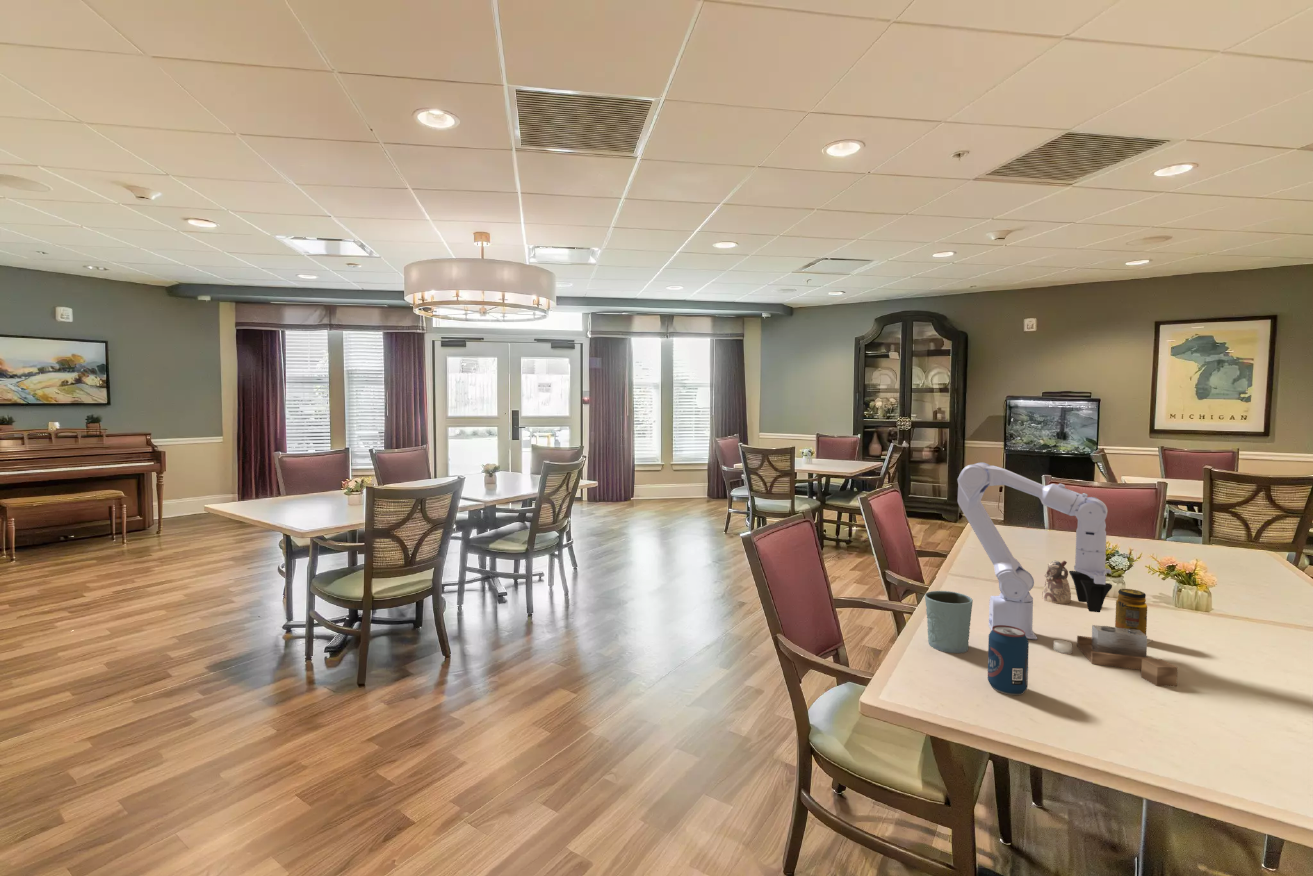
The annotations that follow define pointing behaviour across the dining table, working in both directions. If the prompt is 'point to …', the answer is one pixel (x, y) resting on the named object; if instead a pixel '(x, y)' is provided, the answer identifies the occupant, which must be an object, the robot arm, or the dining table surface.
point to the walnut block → (1159, 672)
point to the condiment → (1131, 610)
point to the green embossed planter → (948, 620)
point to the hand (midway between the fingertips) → (1088, 606)
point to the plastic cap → (1062, 646)
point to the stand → (1108, 656)
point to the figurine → (1056, 584)
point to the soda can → (1008, 660)
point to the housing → (1119, 641)
